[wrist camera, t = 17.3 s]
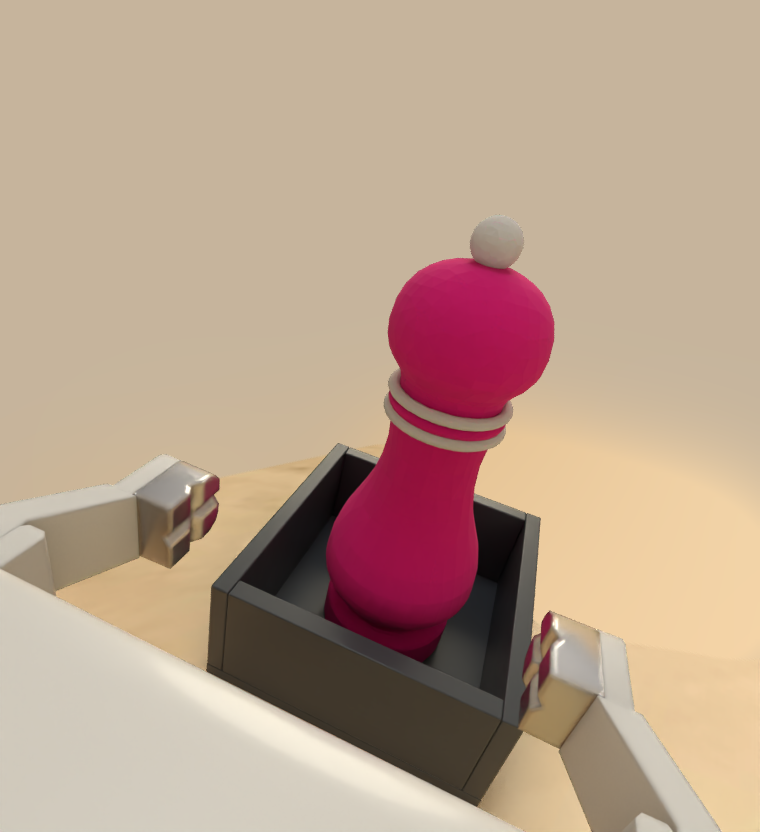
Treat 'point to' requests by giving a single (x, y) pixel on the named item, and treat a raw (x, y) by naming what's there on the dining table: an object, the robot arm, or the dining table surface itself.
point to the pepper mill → (437, 442)
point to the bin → (372, 662)
